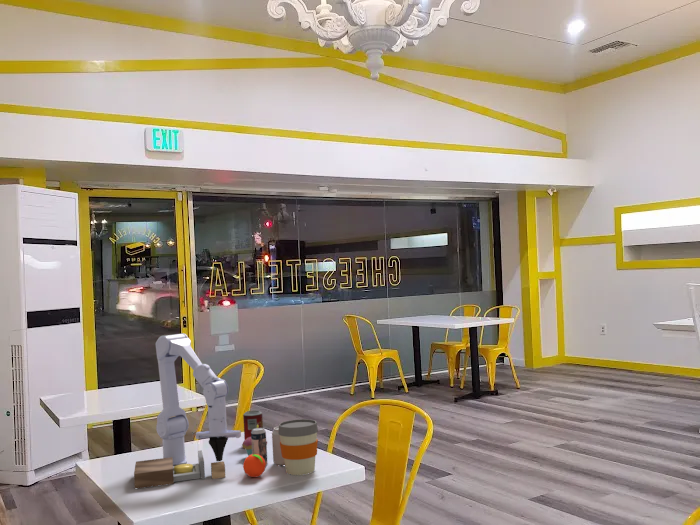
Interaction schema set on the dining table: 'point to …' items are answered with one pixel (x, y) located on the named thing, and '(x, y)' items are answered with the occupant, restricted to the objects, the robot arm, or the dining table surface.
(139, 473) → the housing
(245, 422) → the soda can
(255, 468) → the clementine
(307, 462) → the reusable coffee cup
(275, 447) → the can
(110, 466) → the dining table surface
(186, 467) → the yellow flat dome
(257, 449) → the beer can
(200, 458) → the tray
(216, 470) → the block
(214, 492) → the dining table surface
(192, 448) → the dining table surface
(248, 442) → the cupcake
